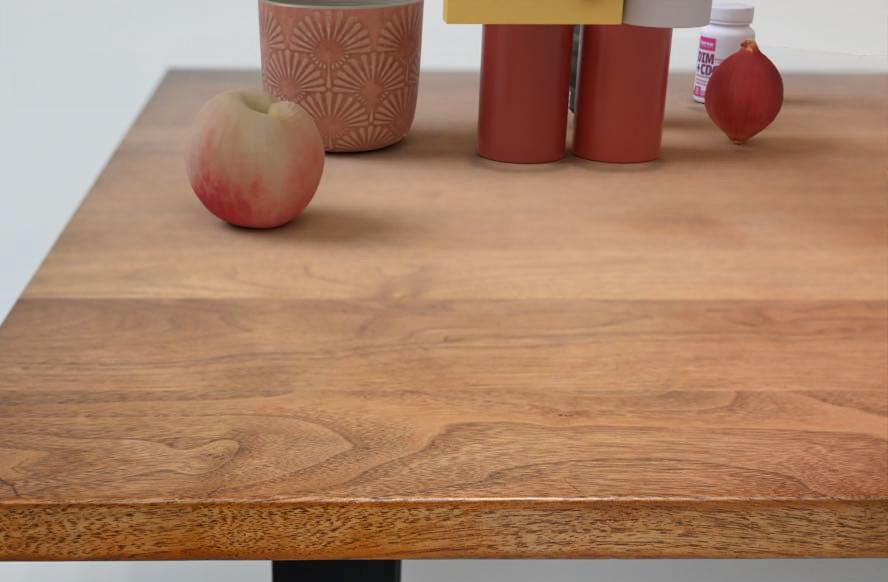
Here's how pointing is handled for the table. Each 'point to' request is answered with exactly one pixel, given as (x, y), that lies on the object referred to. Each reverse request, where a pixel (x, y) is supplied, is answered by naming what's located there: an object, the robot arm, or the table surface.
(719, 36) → the pill bottle
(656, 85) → the cans
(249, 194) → the fruit
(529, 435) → the table surface
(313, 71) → the planter
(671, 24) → the white cylinder yellow bar
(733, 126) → the onion
